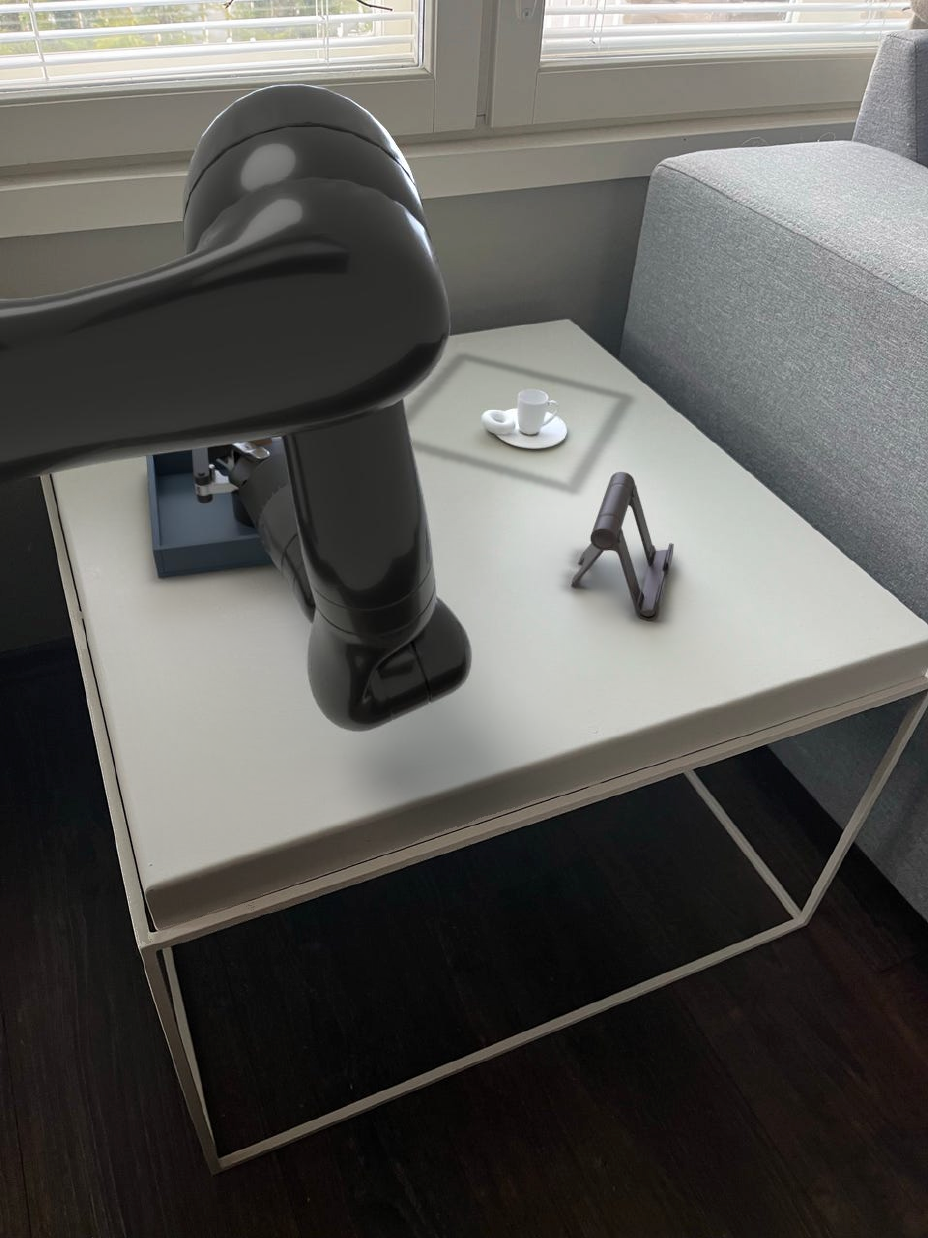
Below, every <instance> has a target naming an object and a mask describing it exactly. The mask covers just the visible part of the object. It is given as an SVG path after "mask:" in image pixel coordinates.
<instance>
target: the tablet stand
mask: <svg viewBox="0 0 928 1238" xmlns="http://www.w3.org/2000/svg"><path fill="white" fill-rule="evenodd" d="M629 507H630V508H631V510H632V513H633V516H634V519H635V523H636V527H637V531H638V534H639V537H640V541H641V544H642V547H643V551H644V555H645V558H646V562H647V566H648V567H647V571H646V573H645V577H644V581H643V584H642V589H641V588H640V584H639V581H638V578H637V574H636V571H635V568H634V564H633V561H632V557H631V554H630V551H629V548H628V544H627V542H626V538H625V535H624V530H623V528H622V527H623V524H624V521H625V518H626V514H627V511H628V508H629ZM644 513H645V512H644V510H643V507H642V503H641V499H640V496H639V492H638V487H637V485H636V481H635V479H634V477H633V475H631V474H630V473H629V472H625V471H618V472H615V473H613V474H612V475H611V477H610V478H609V482H608V485H607V487H606V491H605V493H604V496H603V499H602V502H601V505H600V507H599V511H598V513H597V516H596V519H595V522H594V525H593V528H592V530H591V534H590V538H589V539H590V544H589V545H588V546H587V547H586V549H585V550H584V551H583V552H582V553H581V556H580V558H579V560H578V563H577V565H580V568H579V570H578V571H577V572H576V574H575V575H574V576H573V578H572V581H571V583H570V586H571V587H573V588H574V587H575V586H577V584H578V583H579V582H580V581H581V579H582V578H583V577H584V576H585V575H586V573H587V572H588V571H589V570H590V568H591V567H593V565H594V564H595V562H596V561H597V560H598V558H600V557H601V555H602V554H603V553H604V552H606V551H608V552H609V551H612V552H615V553H616V554H617V555H618V558H619V561H620V564H621V568H622V572H623V575H624V577H625V578H624V579H625V581H626V584H627V587H628V591H629V595H630V597H631V600H632V604H633V607H634V610H635V614H636V616H637V617H638V618H640V619H641V620H643V621H646V622H652V621H655V620H656V619H658V617H659V615H660V612H661V607H662V603H663V599H664V595H665V591H666V585H667V581H668V578H669V573H670V568H671V564H672V560H673V556H674V547H675V546H674V545H675V544H674V543H672V542H670V543H669V544H668V547H667V549H661V550H660V549H659V550H657V549H656V546H655V545H654V544H653V542H652V538H651V534H650V532H649V531H650V530H649V528H648V524H647V521H646V517H645V514H644Z"/></svg>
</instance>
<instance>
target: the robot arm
mask: <svg viewBox="0 0 928 1238" xmlns="http://www.w3.org/2000/svg"><path fill="white" fill-rule="evenodd" d="M183 189H184V190H183V195H182V196H183V197H182V235H183V236H182V237H183V250H184V256H182V257H180V258H177V259H175V260H172V261H170V262H167V263H165V264H162V265H159V266H156V267H153V268H151V269H147V270H144V271H141V272H138V273H135V274H132V275H128V276H124V277H120V278H116V279H112V280H108V281H104V282H103V281H102V282H100V283H96V284H91V285H88V286H84V287H80V288H75V289H71V290H68V291H64V292H59V293H52V294H46V295H40V296H35V297H21V298H0V486H2V485H6V484H10V483H15V482H19V481H24V480H29V479H32V478H38V477H43V476H47V475H52V474H56V473H61V472H64V471H65V472H66V471H70V470H74V469H79V468H85V467H89V466H94V465H99V464H106V463H111V462H117V461H123V460H129V459H134V458H142V457H143V458H144V457H146V456H150V455H156V454H163V453H170V452H177V451H184V450H192V460H193V475H194V481H195V488H196V494H197V500H198V502H200V503H209V502H211V501H212V500H213V494H217V493H229V492H231V494H232V495H233V496H234V497H235V498H237V499H239V500H241V501H242V502H243V504H244V506H245V508H246V510H247V512H248V514H249V516H250V518H251V520H252V522H253V524H254V526H255V528H256V530H257V532H258V534H259V536H260V538H261V540H262V541H261V542H262V544H263V546H264V548H265V550H266V552H267V553H268V554H269V555H270V557H271V559H272V560H273V562H274V564H273V565H275V567H276V568H277V570H278V571H279V572H280V573H281V574H282V575H283V578H284V579H285V580H286V582H287V584H288V586H289V588H290V591H291V592H292V594H293V595H294V597H295V600H296V602H297V605H298V606H299V608H300V610H301V612H302V613H303V615H304V616H305V618H306V619H307V621H308V622H309V623H310V624H311V629H310V634H309V638H308V645H307V646H308V647H307V655H306V658H307V659H306V660H307V661H306V662H307V666H306V667H307V676H308V683H309V687H310V690H311V693H312V696H313V698H314V701H315V704H316V705H317V707H318V708H319V710H320V712H321V713H322V714H323V715H324V717H325V718H326V719H327V720H328V721H330V723H332V724H334V725H335V726H336V727H339V728H340V729H343V730H346V731H348V732H354V733H355V732H356V733H361V732H368V731H372V730H375V729H378V728H380V727H382V726H384V725H387V724H388V723H390V722H393V721H395V720H397V719H400V718H401V717H403V716H406V715H408V714H411V713H413V712H414V711H416V710H419V709H421V708H423V707H425V706H428V705H429V704H432V703H434V702H437V701H439V700H441V699H443V698H445V697H448V696H450V695H451V694H453V693H454V692H456V691H457V690H459V689H460V688H461V687H462V686H463V685H464V684H465V683H466V681H467V679H468V677H469V675H470V673H471V668H472V661H473V653H472V647H471V642H470V638H469V635H468V632H467V631H466V629H465V627H464V625H463V624H462V622H461V621H460V619H459V617H458V616H457V615H456V614H455V612H454V611H453V610H452V609H451V608H450V607H449V606H448V605H447V604H446V603H445V601H443V599H441V598H440V597H439V596H438V595H437V585H436V576H435V575H436V574H435V566H434V556H433V545H432V537H431V530H430V524H429V518H428V512H427V507H426V501H425V497H424V492H423V487H422V483H421V479H420V478H421V477H420V474H419V470H418V465H417V460H416V455H415V451H414V447H413V446H414V445H413V441H412V437H411V432H410V427H409V423H408V417H407V416H408V415H407V412H406V405H405V399H404V398H406V397H407V396H408V395H411V394H412V393H413V392H415V390H417V389H419V387H420V386H422V385H423V384H424V383H425V381H427V379H429V378H430V376H431V375H432V374H433V372H434V371H435V369H436V368H437V367H438V364H439V363H440V361H441V359H442V357H443V356H444V354H445V353H446V349H447V345H448V342H449V339H450V334H451V320H452V319H451V308H450V302H449V301H450V300H449V296H448V292H447V287H446V283H445V279H444V276H443V272H442V268H441V265H440V263H439V258H438V254H437V251H436V248H435V244H434V240H433V237H432V232H431V229H430V226H429V222H428V219H427V215H426V212H425V210H424V203H423V200H422V197H421V193H420V190H419V187H418V185H417V183H416V181H415V178H414V176H413V173H412V171H411V169H410V166H409V164H408V161H407V159H406V157H405V156H404V154H403V153H402V151H401V150H400V148H399V147H398V145H397V144H396V142H395V140H394V139H393V138H392V137H391V135H390V133H389V132H388V130H387V129H386V128H385V126H383V125H382V124H381V123H380V122H379V121H378V120H377V119H376V118H375V117H374V115H372V114H371V113H370V112H369V111H368V110H367V109H365V108H364V107H362V106H360V105H359V104H357V103H356V102H355V101H353V100H352V99H350V98H349V97H346V96H344V95H341V94H339V93H336V92H334V91H332V90H329V89H327V88H325V87H319V86H313V85H307V84H302V83H300V84H277V85H270V86H267V87H264V88H260V89H256V90H255V91H253V92H251V93H249V94H247V95H245V96H243V97H240V98H239V99H237V100H235V101H234V102H232V104H230V105H229V106H228V107H227V108H225V109H224V110H223V111H222V112H221V113H220V114H218V115H217V116H216V117H215V119H214V120H213V121H212V122H211V123H210V125H209V126H208V127H207V129H206V130H205V131H204V133H203V134H202V136H201V138H200V140H199V142H198V144H197V146H196V148H195V150H194V153H193V155H192V156H191V159H190V163H189V168H188V172H187V176H186V180H185V184H184V188H183ZM269 438H272V439H277V438H281V439H282V440H278V441H275V442H272V443H269V444H258V445H254V444H252V443H251V442H249V441H256V440H262V439H269ZM214 460H216V461H217V462H219V463H220V464H222V465H223V466H225V467H226V468H228V470H229V472H230V473H229V476H228V477H227V476H222V475H221V474H220V472H219V471H218V470H215V466H214V465H210V462H212V461H214Z"/></svg>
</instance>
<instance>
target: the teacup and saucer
mask: <svg viewBox="0 0 928 1238" xmlns="http://www.w3.org/2000/svg"><path fill="white" fill-rule="evenodd" d="M550 405H554V406H555V407H556V408H555V411H554V412H553V413H551V412H549V411H547V409H548V407H549V406H550ZM559 407H560V406H559V404H558V402H557V401H555V400H549V396H548V394H547V393H546V392H544V391H542V390H539V389H534V388H533V389H532V388H531V389H530V388H529V389H524V390H522V391H520V392H519V393H518V395H517V407H514V408H511V409H507V410H504V411H503V410H500V409H488V410H486V411H485V412H483V414H482V415H481V418H480V421H481V424H482V426H483V428H484V429H486V430H487V431H489V432H490V433H493V434H494V435H495V436H496V437H497V438H498V439H500V440H501V441H503V442H505V443H507V444H509V445H511V446H514V447H518V448H523V449H530V450H531V449H533V450H534V449H535V450H536V449H546V448H550V447H553V446H556V445H558V444H560V443H562V442H563V441H564V440H565V439H566V437H567V435H568V428H567V425H566V423H565V422H564V421H563V420H562V419H561V418H560V417H559V416H557V414H558V411H559ZM520 431H521V432H522V433H523V434H525V435H523V434H521V432H520ZM537 433H538V434H537ZM536 434H537V435H536ZM526 435H535V436H526Z"/></svg>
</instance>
